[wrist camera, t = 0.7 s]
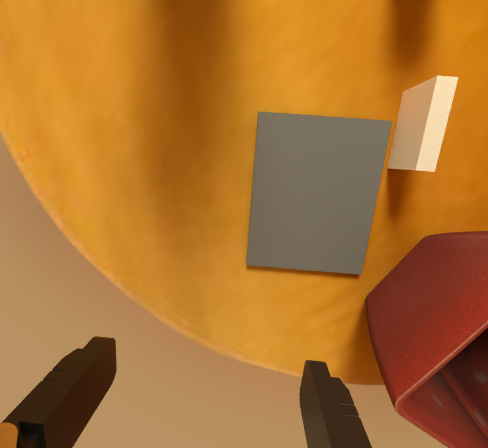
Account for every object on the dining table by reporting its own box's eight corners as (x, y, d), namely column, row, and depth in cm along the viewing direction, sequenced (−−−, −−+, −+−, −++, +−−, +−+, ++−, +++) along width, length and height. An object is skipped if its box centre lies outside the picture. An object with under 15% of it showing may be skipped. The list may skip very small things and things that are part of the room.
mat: (258, 112, 32) (258, 111, 31) (388, 122, 31) (392, 121, 31) (246, 263, 37) (246, 265, 36) (359, 272, 36) (361, 274, 36)
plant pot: (429, 197, 34) (594, 233, 17) (527, 279, 36) (758, 381, 19) (330, 301, 38) (389, 409, 21) (424, 368, 40) (542, 514, 24)
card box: (402, 91, 31) (437, 75, 25) (420, 92, 31) (459, 77, 25) (387, 168, 33) (415, 170, 27) (403, 169, 33) (435, 171, 27)
